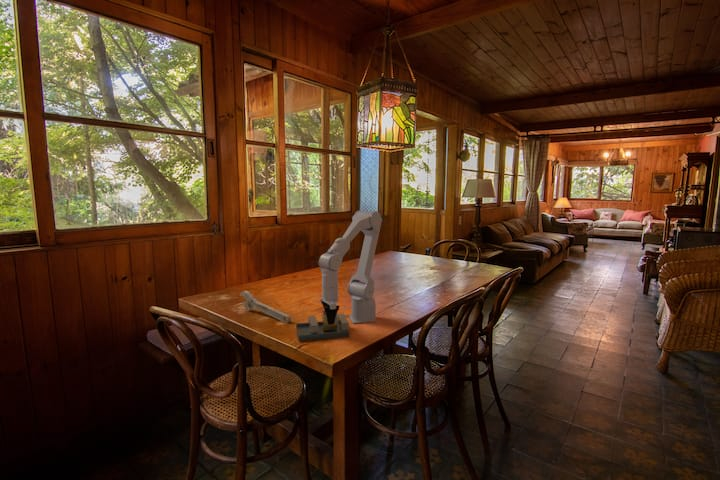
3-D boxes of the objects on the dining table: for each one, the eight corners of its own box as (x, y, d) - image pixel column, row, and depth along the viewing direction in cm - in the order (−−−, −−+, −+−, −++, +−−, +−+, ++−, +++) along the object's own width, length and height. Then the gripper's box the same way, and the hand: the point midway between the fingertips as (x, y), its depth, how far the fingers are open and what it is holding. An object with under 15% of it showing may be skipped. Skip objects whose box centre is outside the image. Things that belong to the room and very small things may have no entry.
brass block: (335, 325, 139) (335, 310, 139) (337, 329, 136) (337, 313, 135) (322, 326, 138) (322, 311, 137) (323, 330, 134) (323, 314, 134)
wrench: (287, 330, 146) (239, 307, 162) (290, 329, 147) (242, 306, 164) (288, 311, 144) (239, 290, 161) (291, 310, 146) (243, 289, 162)
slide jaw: (315, 324, 140) (315, 315, 140) (318, 334, 131) (318, 325, 131) (308, 325, 140) (308, 316, 139) (311, 335, 131) (311, 325, 130)
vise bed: (343, 324, 144) (342, 312, 144) (349, 337, 133) (349, 323, 132) (296, 328, 140) (296, 315, 139) (298, 341, 129) (298, 328, 128)
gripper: (316, 281, 141) (316, 315, 143) (321, 292, 127) (321, 330, 129) (334, 280, 142) (334, 314, 144) (341, 291, 128) (341, 328, 130)
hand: (330, 321), depth 137 cm, fingers closed on brass block, 4 cm apart
